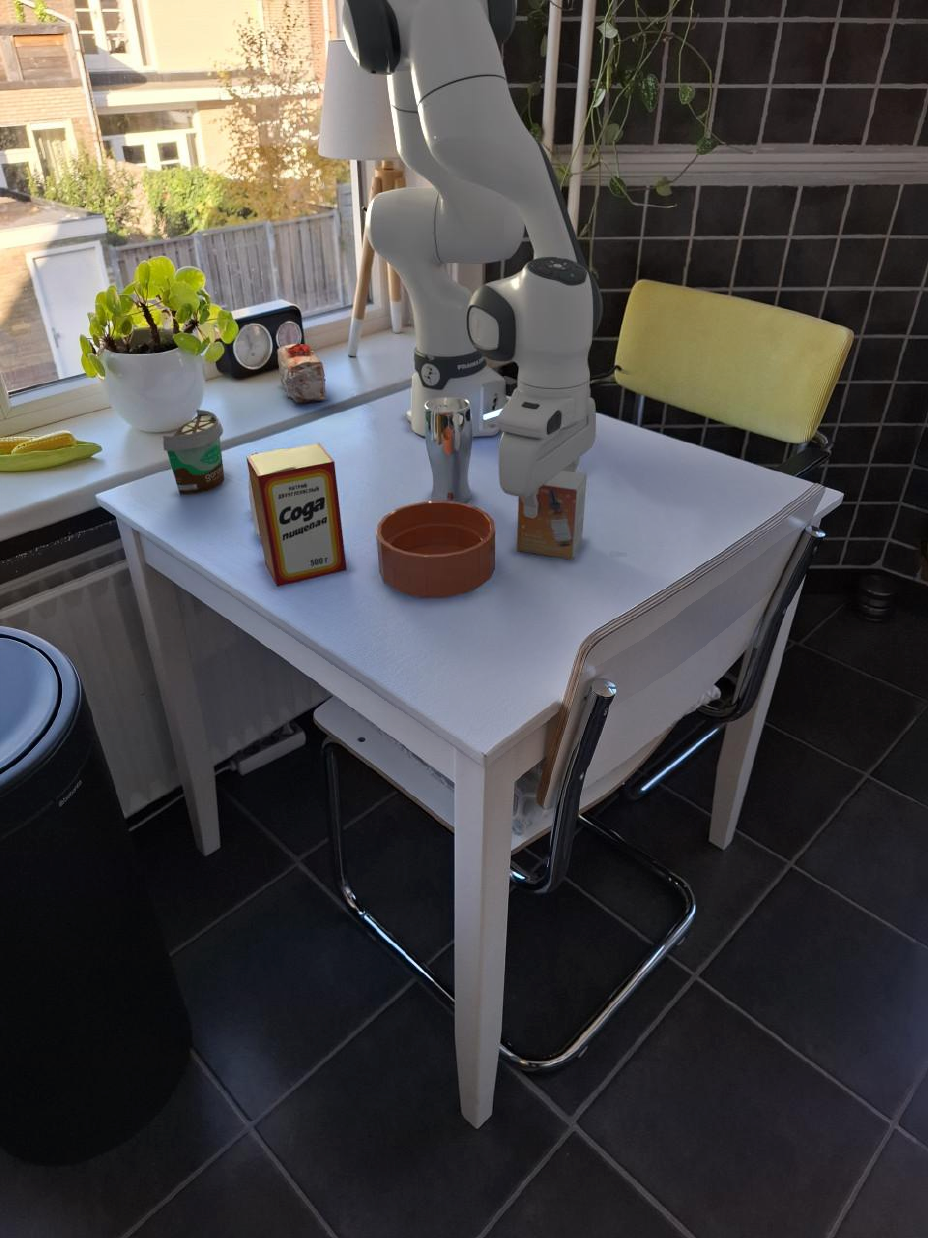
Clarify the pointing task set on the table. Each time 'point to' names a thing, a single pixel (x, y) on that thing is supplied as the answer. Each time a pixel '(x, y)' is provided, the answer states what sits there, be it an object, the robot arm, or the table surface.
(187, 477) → the food container
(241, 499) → the table surface
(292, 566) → the baking soda box
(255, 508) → the shaker set
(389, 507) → the table surface
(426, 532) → the bowl
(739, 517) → the table surface
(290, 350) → the food item
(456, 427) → the beer glass
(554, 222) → the robot arm
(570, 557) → the small box
